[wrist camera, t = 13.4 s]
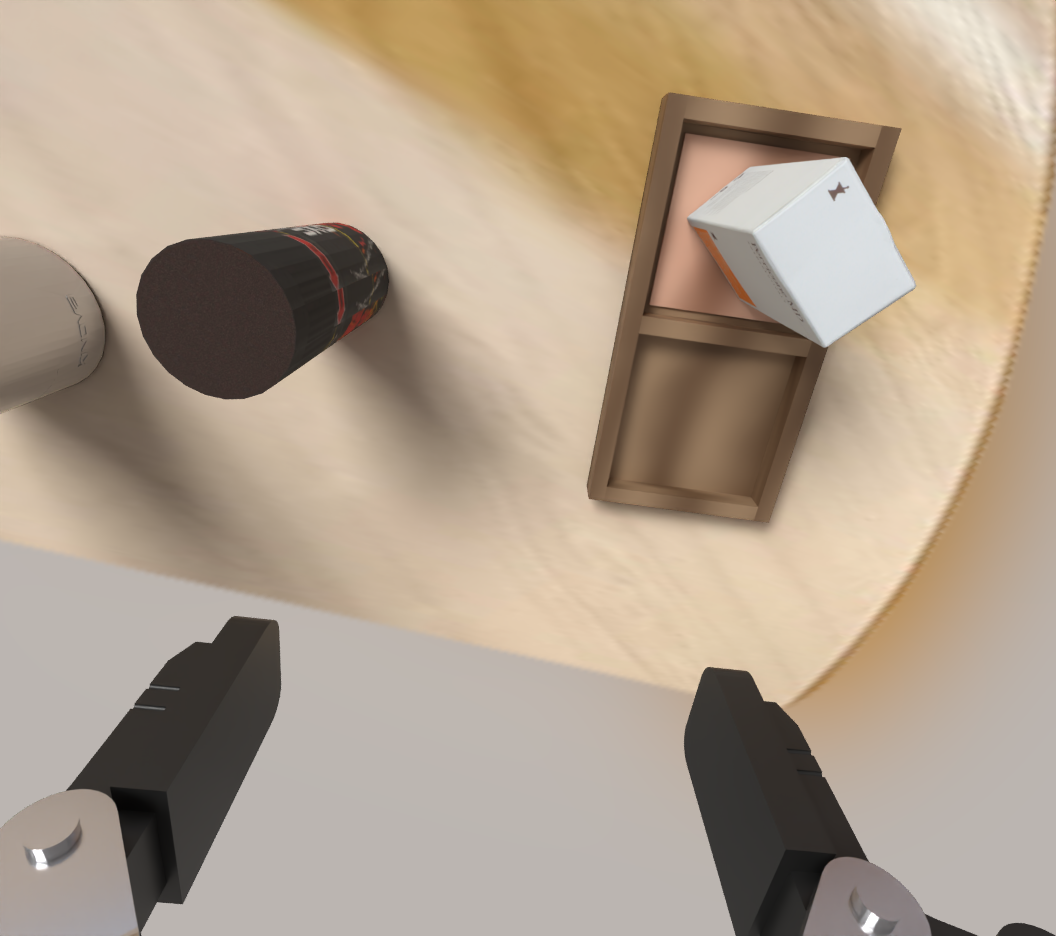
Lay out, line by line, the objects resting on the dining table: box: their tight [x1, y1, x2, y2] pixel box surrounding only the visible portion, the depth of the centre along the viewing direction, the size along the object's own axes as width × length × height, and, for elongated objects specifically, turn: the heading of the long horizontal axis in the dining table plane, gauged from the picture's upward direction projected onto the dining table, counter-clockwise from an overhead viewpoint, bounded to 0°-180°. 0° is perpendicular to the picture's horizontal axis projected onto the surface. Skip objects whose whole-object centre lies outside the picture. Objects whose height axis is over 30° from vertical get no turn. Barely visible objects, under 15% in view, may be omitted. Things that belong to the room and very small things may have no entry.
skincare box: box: [687, 157, 916, 348], centre depth 29 cm, size 6×4×12 cm
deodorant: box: [136, 223, 389, 399], centre depth 30 cm, size 6×6×15 cm
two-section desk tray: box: [587, 93, 901, 523], centre depth 36 cm, size 12×23×2 cm, turn 172°
